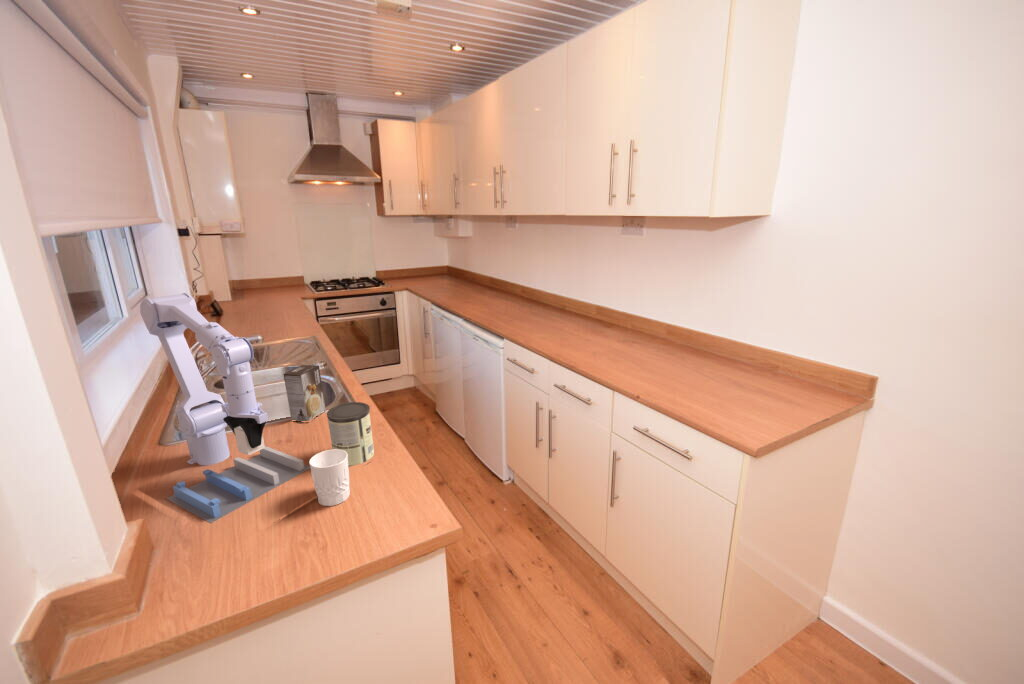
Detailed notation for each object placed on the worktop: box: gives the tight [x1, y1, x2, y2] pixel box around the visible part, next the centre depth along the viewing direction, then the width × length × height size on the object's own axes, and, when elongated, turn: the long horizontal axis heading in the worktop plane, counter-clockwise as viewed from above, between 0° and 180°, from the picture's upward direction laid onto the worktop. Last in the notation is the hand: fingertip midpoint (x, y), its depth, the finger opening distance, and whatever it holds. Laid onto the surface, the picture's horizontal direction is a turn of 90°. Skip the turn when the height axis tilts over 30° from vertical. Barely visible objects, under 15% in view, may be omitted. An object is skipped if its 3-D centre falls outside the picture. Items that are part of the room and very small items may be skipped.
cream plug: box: [234, 426, 266, 456], centre depth 106 cm, size 4×4×6 cm
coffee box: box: [283, 364, 327, 421], centre depth 141 cm, size 9×6×16 cm
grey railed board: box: [166, 445, 311, 524], centre depth 105 cm, size 18×24×4 cm
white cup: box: [308, 449, 351, 507], centre depth 99 cm, size 8×8×10 cm
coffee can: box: [326, 401, 375, 467], centre depth 115 cm, size 10×10×14 cm
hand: (250, 444), depth 106 cm, fingers closed on cream plug, 4 cm apart
